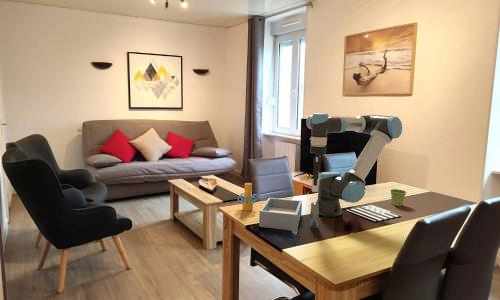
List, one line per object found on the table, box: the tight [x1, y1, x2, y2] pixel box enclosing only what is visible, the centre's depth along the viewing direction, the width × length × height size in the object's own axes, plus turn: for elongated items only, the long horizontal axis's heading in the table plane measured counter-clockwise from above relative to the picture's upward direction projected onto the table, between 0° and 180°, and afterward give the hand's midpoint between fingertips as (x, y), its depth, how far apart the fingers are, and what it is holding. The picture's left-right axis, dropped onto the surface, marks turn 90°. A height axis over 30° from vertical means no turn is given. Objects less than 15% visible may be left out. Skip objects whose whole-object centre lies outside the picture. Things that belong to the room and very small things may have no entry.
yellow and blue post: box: [237, 182, 259, 212], centre depth 204 cm, size 12×10×15 cm
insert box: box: [258, 197, 303, 232], centre depth 188 cm, size 18×24×8 cm
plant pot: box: [389, 188, 408, 207], centre depth 222 cm, size 9×9×9 cm
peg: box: [309, 202, 320, 229], centre depth 180 cm, size 4×4×12 cm
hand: (315, 188), depth 178 cm, fingers open, 13 cm apart
